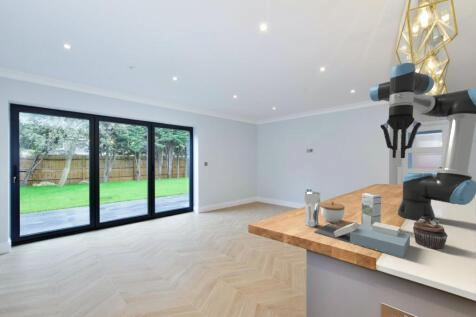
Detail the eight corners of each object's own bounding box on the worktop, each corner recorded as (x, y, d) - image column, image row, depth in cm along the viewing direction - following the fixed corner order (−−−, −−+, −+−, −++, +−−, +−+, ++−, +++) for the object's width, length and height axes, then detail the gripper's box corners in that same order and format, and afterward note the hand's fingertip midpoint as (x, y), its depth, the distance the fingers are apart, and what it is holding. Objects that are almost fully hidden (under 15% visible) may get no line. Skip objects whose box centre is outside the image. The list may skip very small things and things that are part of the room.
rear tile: (375, 226, 88) (375, 221, 87) (399, 232, 82) (400, 227, 82) (371, 230, 84) (371, 225, 84) (397, 236, 78) (397, 230, 78)
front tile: (341, 233, 90) (338, 228, 90) (359, 226, 85) (356, 221, 85) (336, 237, 86) (333, 232, 86) (354, 230, 81) (351, 225, 82)
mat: (328, 224, 101) (328, 223, 101) (361, 233, 91) (361, 232, 91) (314, 232, 91) (314, 231, 91) (349, 242, 81) (349, 241, 81)
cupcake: (414, 246, 79) (415, 219, 79) (411, 237, 88) (412, 212, 87) (450, 253, 74) (451, 224, 74) (443, 243, 82) (445, 217, 82)
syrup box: (381, 226, 100) (382, 194, 99) (371, 228, 98) (373, 195, 97) (369, 222, 105) (370, 192, 104) (360, 223, 103) (361, 193, 102)
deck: (361, 233, 91) (361, 223, 91) (409, 245, 80) (410, 234, 80) (349, 242, 81) (350, 232, 81) (403, 258, 70) (403, 246, 70)
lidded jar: (331, 225, 100) (332, 205, 100) (315, 218, 110) (316, 200, 109) (349, 223, 104) (349, 203, 104) (331, 216, 114) (332, 198, 113)
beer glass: (304, 226, 98) (305, 193, 97) (303, 221, 105) (304, 190, 104) (320, 228, 96) (321, 194, 96) (318, 223, 103) (319, 191, 102)
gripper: (378, 106, 86) (376, 166, 87) (421, 101, 77) (418, 168, 78) (383, 109, 92) (381, 165, 93) (424, 104, 82) (421, 167, 83)
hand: (398, 166), depth 85 cm, fingers closed
